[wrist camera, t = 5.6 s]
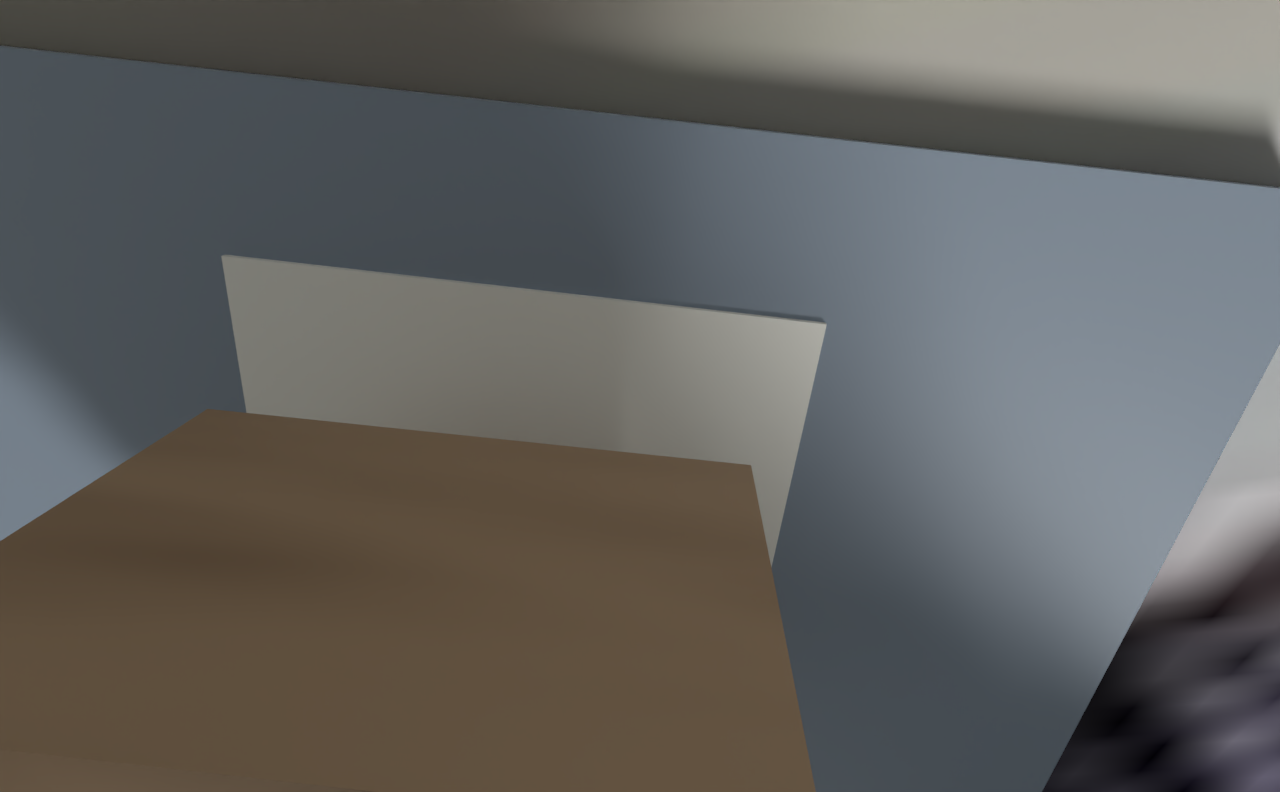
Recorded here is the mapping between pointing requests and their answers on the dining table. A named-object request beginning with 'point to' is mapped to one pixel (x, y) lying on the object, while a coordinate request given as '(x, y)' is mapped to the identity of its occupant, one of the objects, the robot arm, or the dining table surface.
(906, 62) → the dining table surface
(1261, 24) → the dining table surface
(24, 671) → the walnut block
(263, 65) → the dining table surface
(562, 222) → the board
